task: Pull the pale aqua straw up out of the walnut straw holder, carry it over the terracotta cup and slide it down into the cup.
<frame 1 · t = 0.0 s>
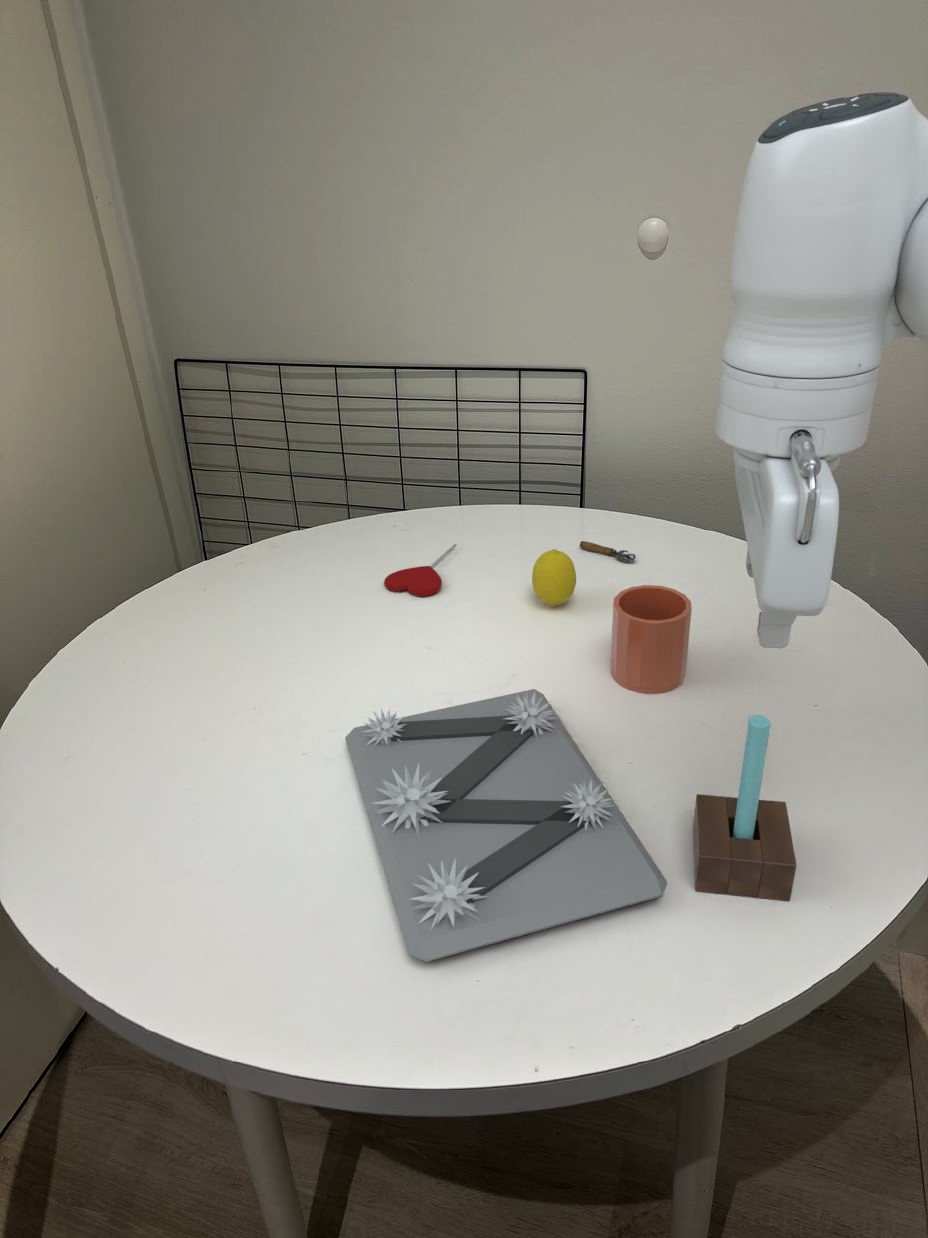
hand: (764, 605, 61), 26 cm above the table, tool pointing down, fingers open, 8 cm apart
decorative plate: (488, 815, 82), on the table
can opener: (607, 556, 126), on the table
cup: (647, 672, 101), on the table
lollipop: (431, 571, 125), on the table
lemon: (554, 607, 115), on the table
straw: (748, 795, 72), in the holder
holder: (738, 863, 76), on the table
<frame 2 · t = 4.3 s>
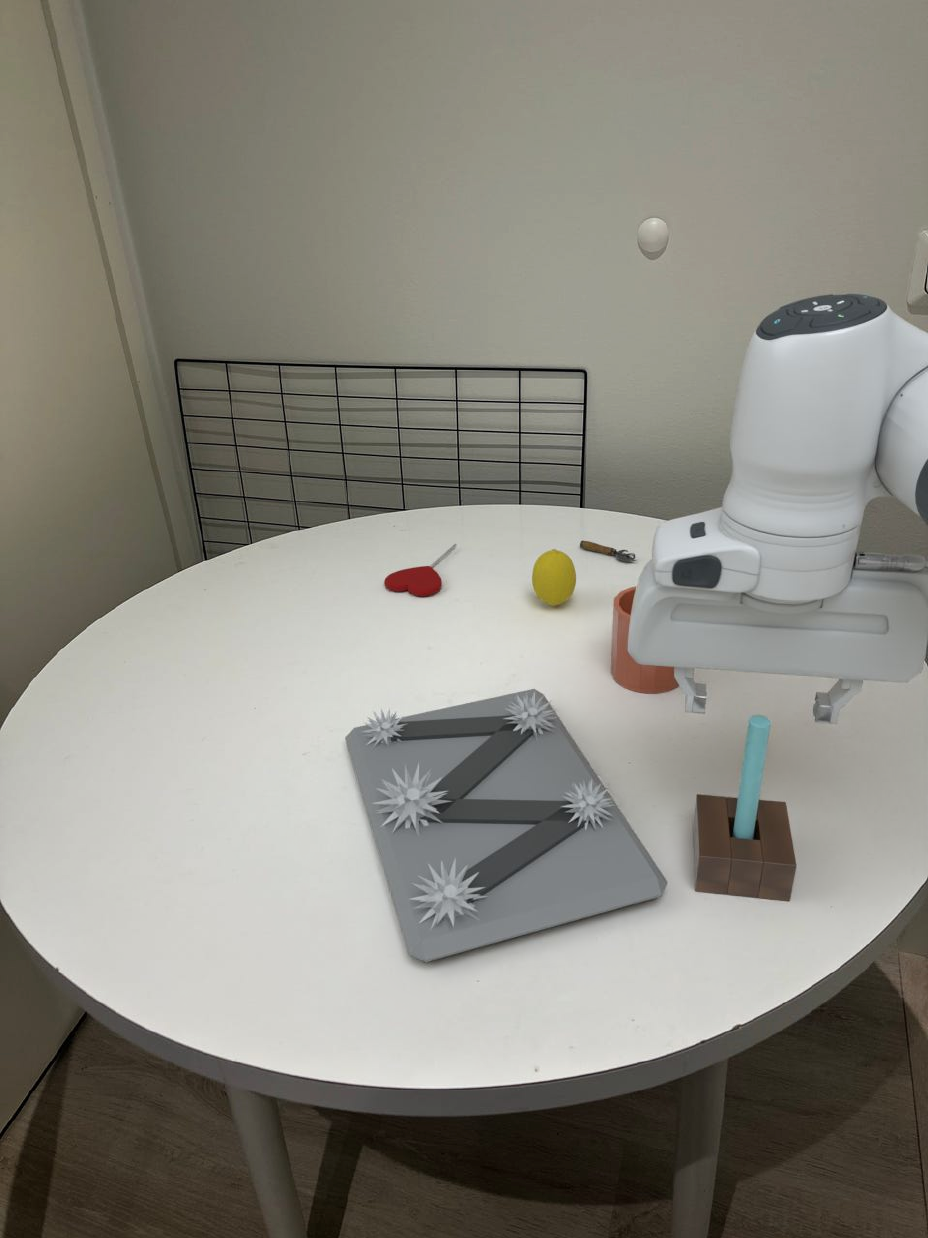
hand: (758, 713, 68), 16 cm above the table, tool pointing down, fingers open, 8 cm apart
nothing on the table moved.
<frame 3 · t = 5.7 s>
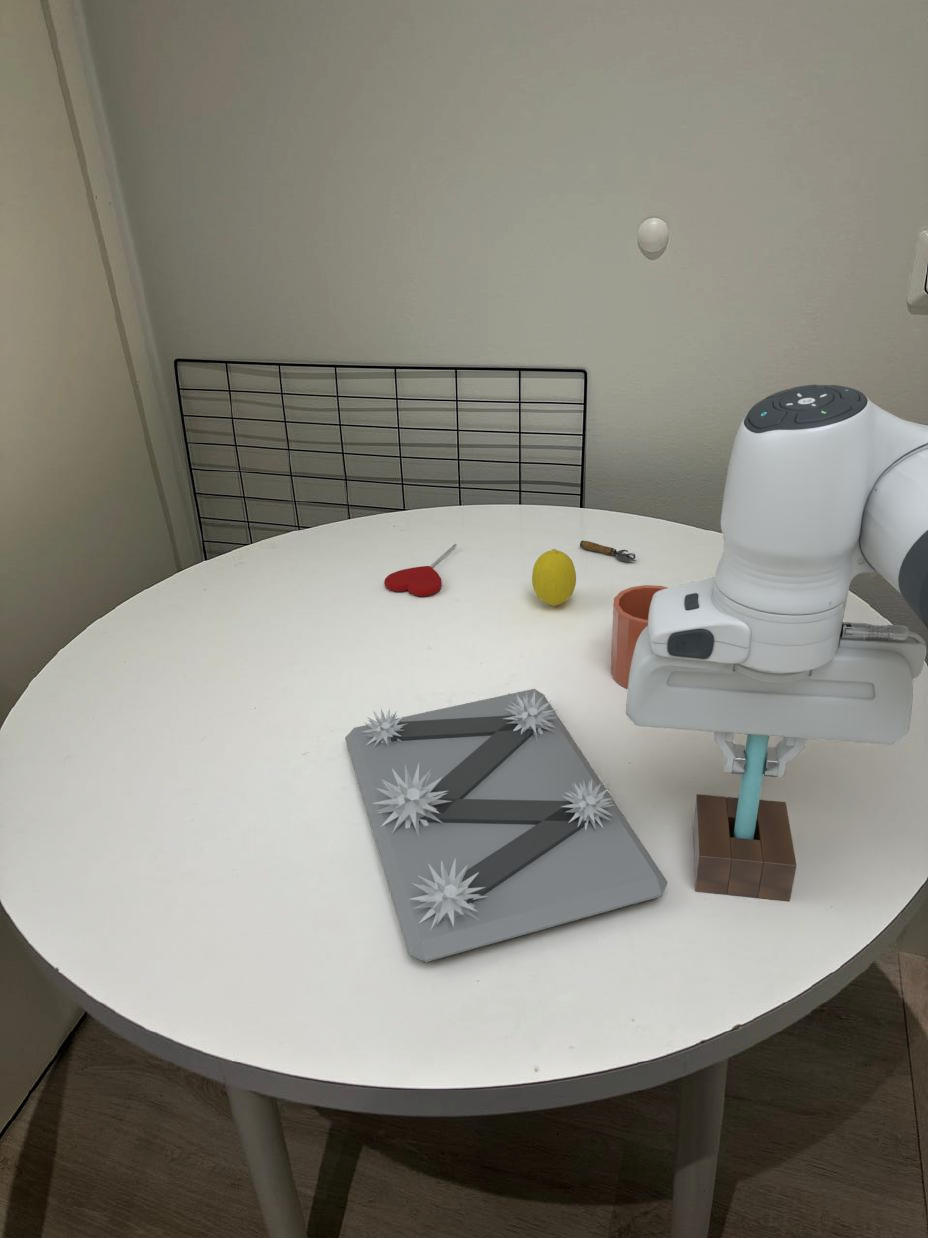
hand: (752, 770, 71), 10 cm above the table, tool pointing down, fingers closed on straw, 1 cm apart
straw: (749, 795, 72), in the holder, touching gripper
everything else where it was.
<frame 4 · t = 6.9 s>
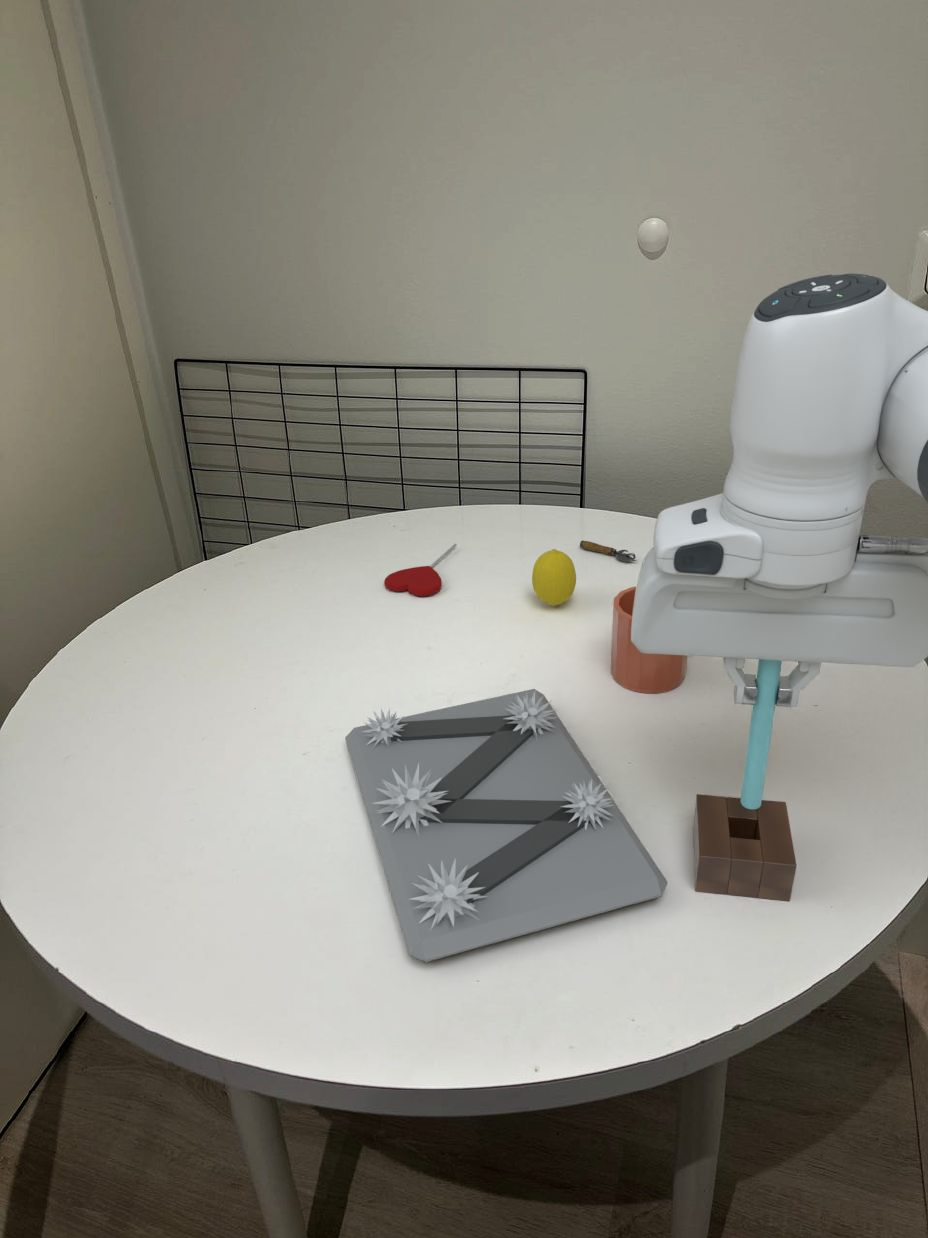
hand: (764, 701, 67), 17 cm above the table, tool pointing down, fingers closed on straw, 1 cm apart
straw: (760, 729, 68), point 14 cm above the table, touching gripper
everything else where it was.
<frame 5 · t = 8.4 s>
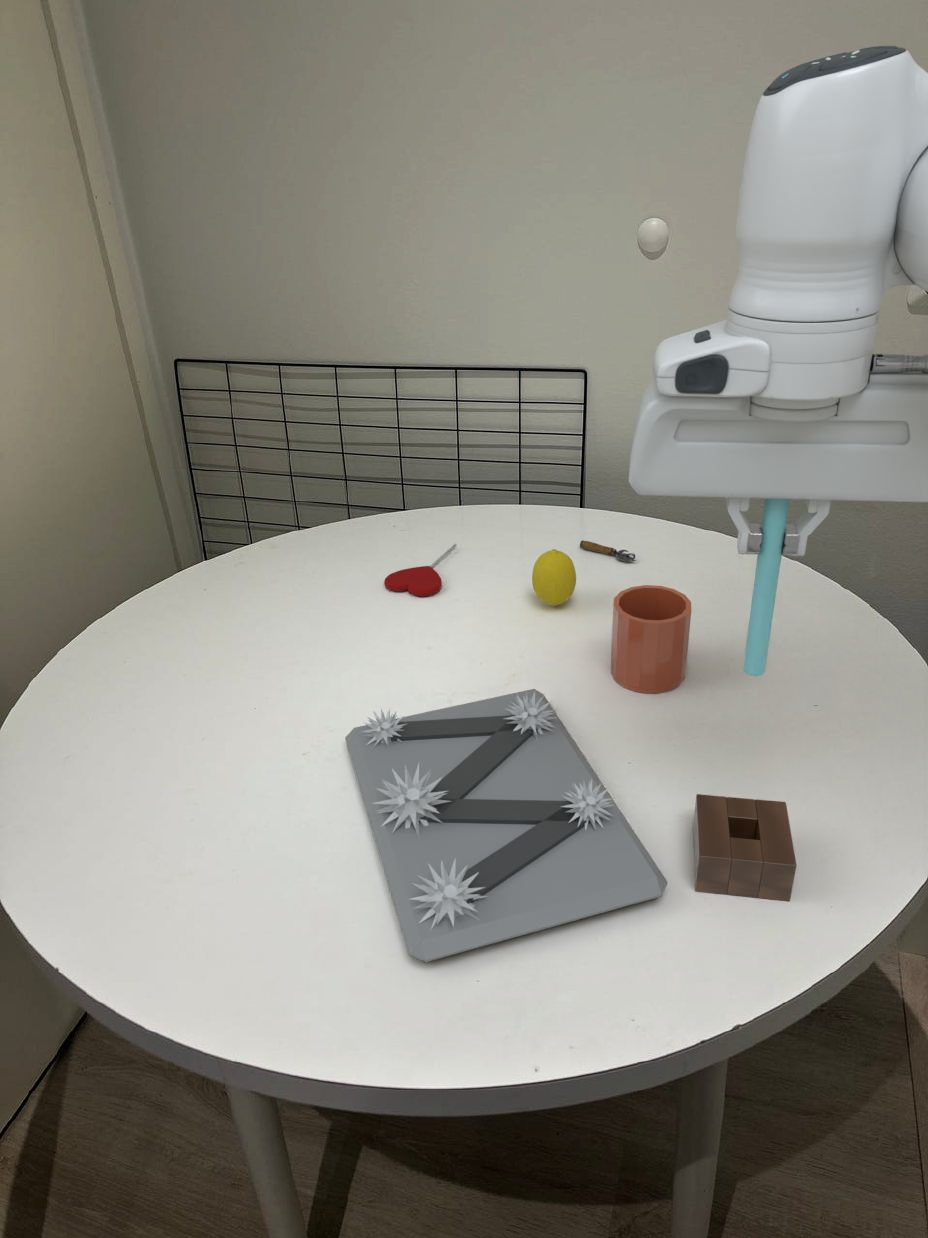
hand: (769, 551, 63), 28 cm above the table, tool pointing down, fingers closed on straw, 1 cm apart
straw: (765, 584, 65), point 26 cm above the table, touching gripper
everything else where it was.
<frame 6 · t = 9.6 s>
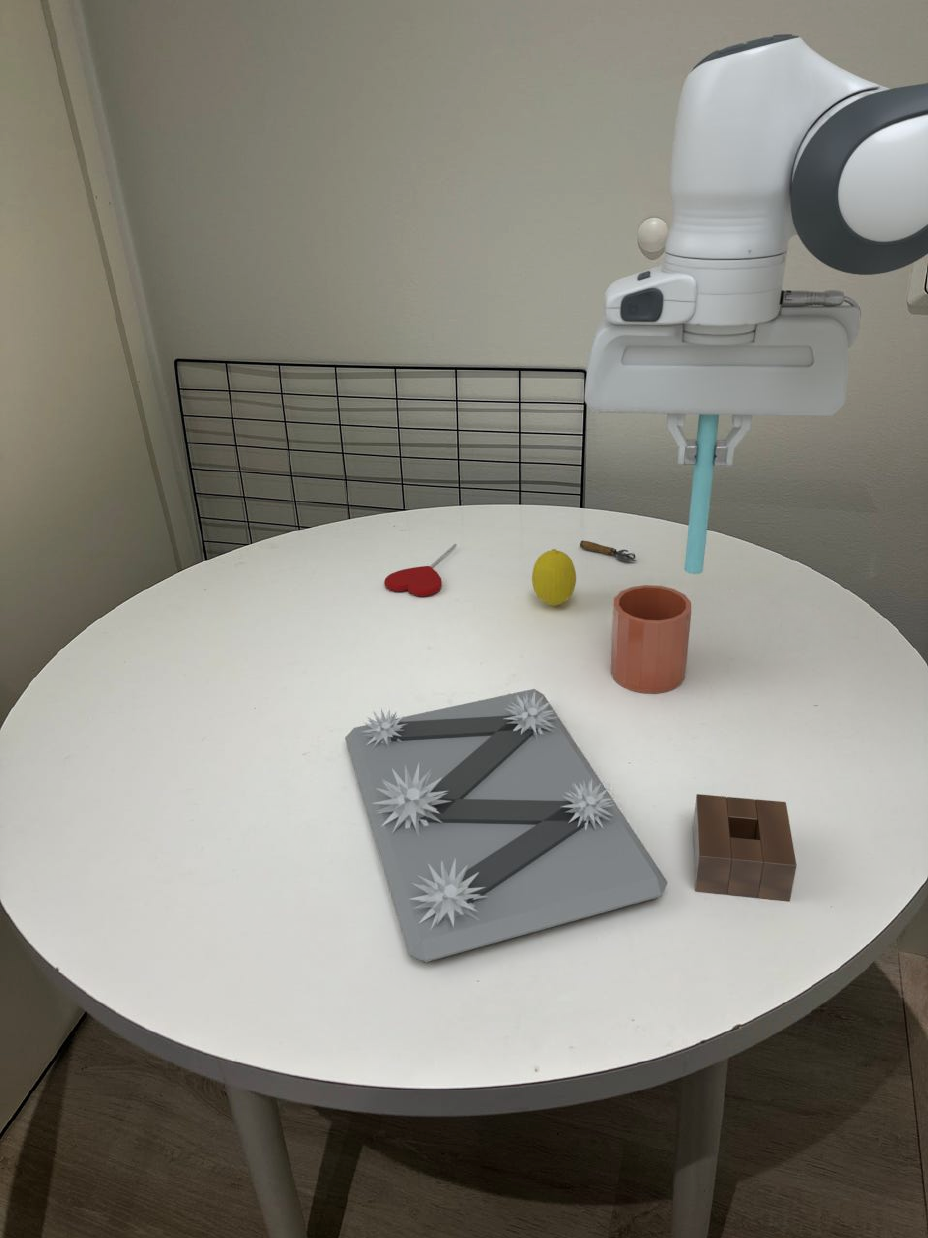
hand: (703, 463, 75), 29 cm above the table, tool pointing down, fingers closed on straw, 1 cm apart
straw: (701, 492, 76), point 27 cm above the table, touching gripper
everything else where it was.
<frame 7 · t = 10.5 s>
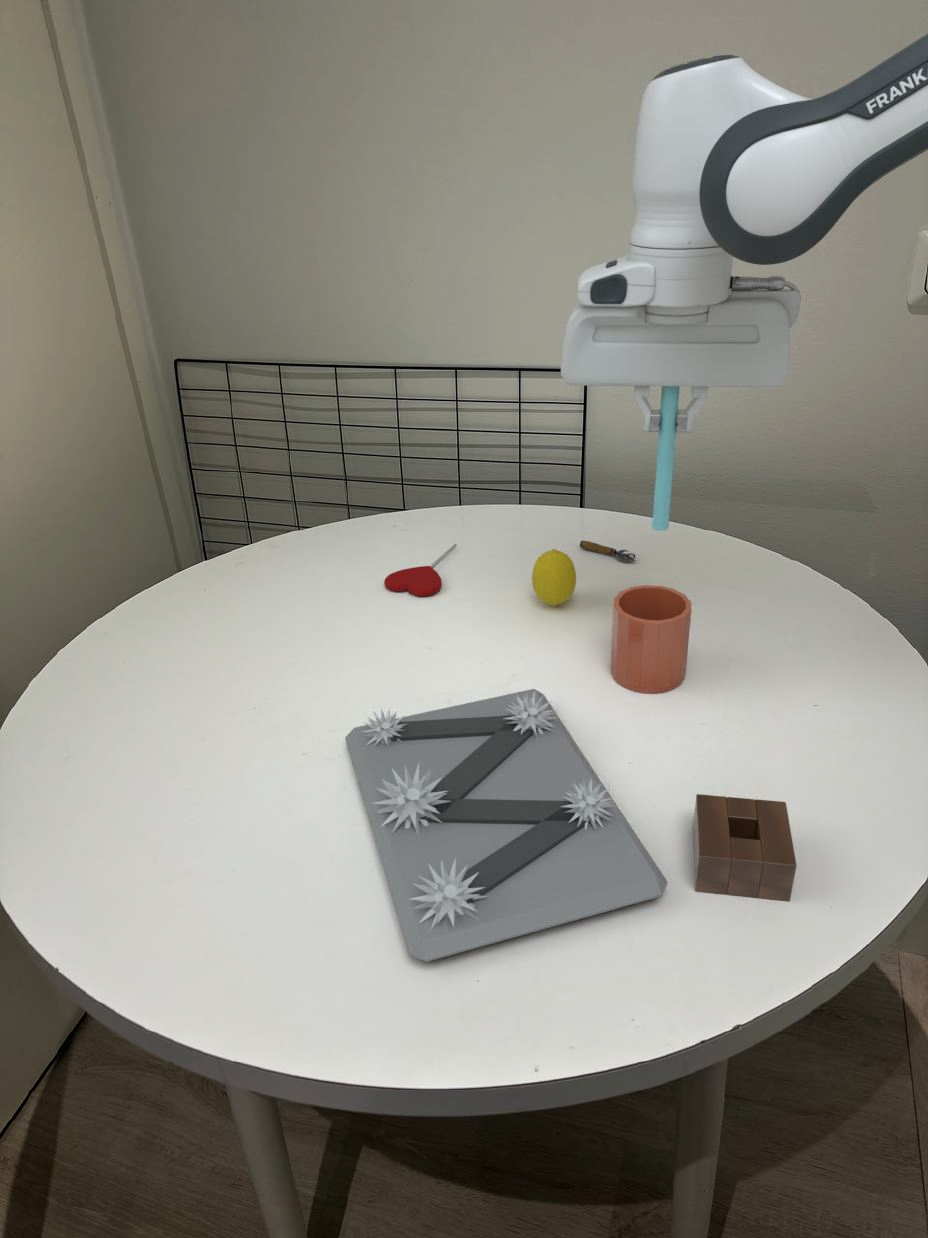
hand: (667, 430, 85), 29 cm above the table, tool pointing down, fingers closed on straw, 1 cm apart
straw: (665, 456, 86), point 26 cm above the table, touching gripper
everything else where it was.
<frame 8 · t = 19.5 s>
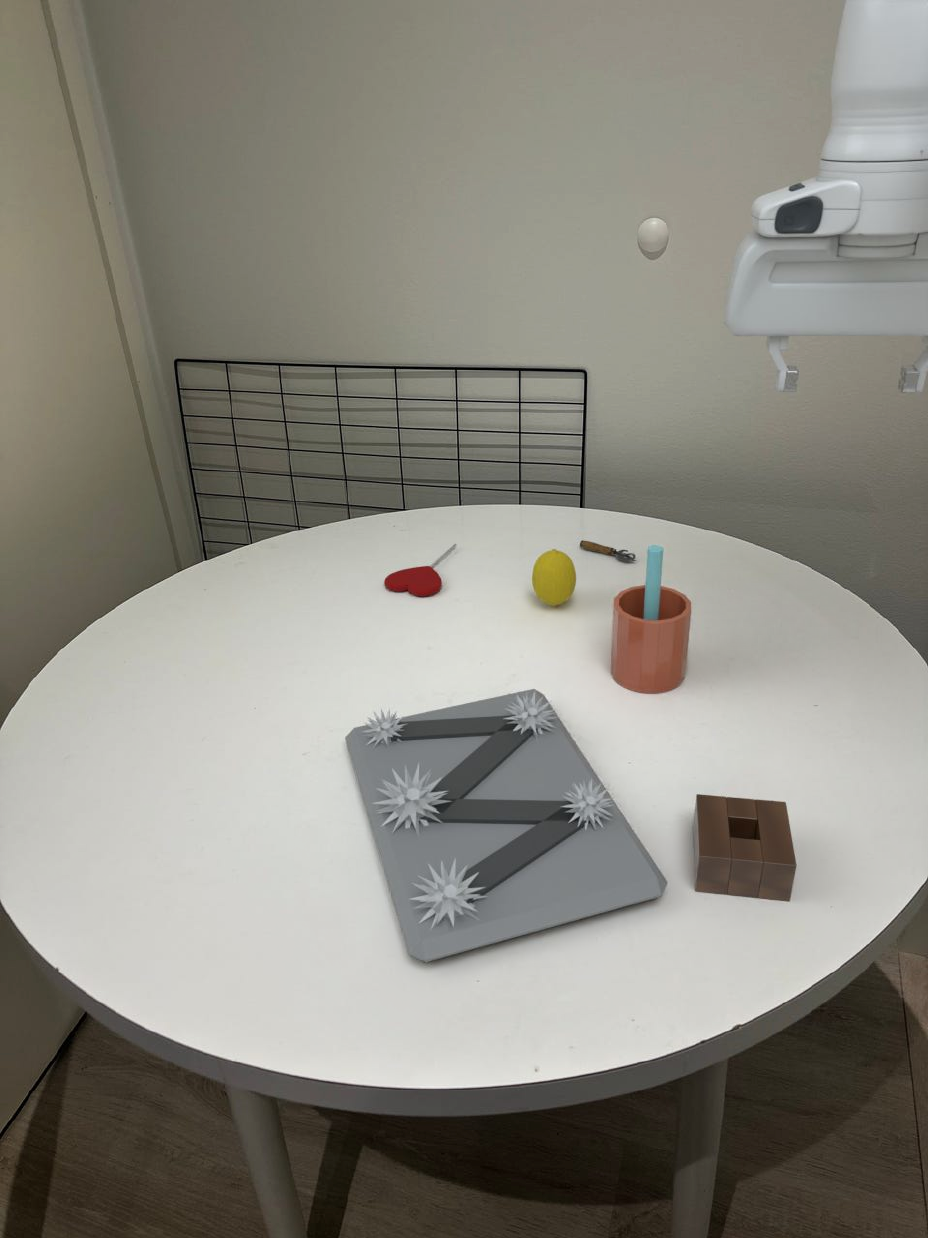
hand: (846, 390, 72), 35 cm above the table, tool pointing down, fingers open, 8 cm apart
straw: (651, 610, 97), in the cup, point 8 cm above the table
everything else where it was.
at the end: straw 0.0 cm off-centre in the cup, point 8.1 cm above the cup's base; the gripper is holding nothing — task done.
